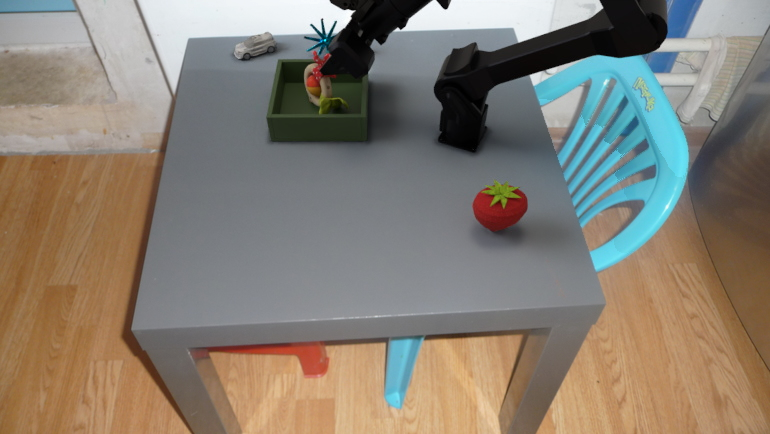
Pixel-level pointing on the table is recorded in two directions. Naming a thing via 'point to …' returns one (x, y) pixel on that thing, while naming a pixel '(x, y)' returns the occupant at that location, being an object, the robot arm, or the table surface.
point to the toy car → (255, 46)
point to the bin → (315, 107)
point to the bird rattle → (321, 86)
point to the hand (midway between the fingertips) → (331, 55)
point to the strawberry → (499, 206)
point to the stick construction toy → (322, 38)
